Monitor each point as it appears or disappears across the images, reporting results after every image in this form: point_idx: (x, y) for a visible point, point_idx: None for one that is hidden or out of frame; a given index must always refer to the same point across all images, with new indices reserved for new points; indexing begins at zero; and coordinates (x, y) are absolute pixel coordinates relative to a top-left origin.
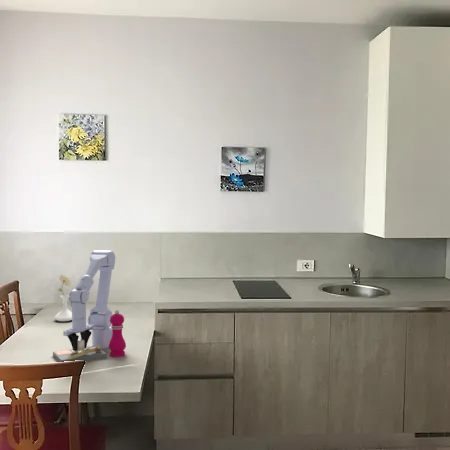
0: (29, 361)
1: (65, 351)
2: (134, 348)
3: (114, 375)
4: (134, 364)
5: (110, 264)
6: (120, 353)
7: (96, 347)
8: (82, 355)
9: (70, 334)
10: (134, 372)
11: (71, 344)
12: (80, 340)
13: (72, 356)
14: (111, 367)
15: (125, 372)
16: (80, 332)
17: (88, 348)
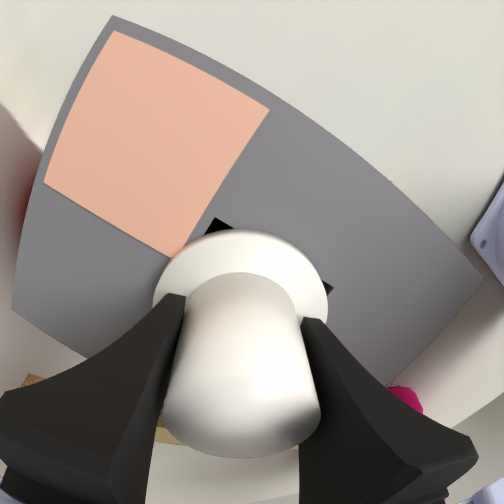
0: (2, 4)
1: (180, 139)
2: (495, 376)
3: (147, 483)
4: (282, 485)
5: None
6: None
7: (297, 448)
8: None
9: (23, 495)
10: (209, 501)
11: (133, 327)
12: (234, 438)
13: None
14: (204, 465)
15: (191, 492)
16: (389, 471)
17: (401, 284)
